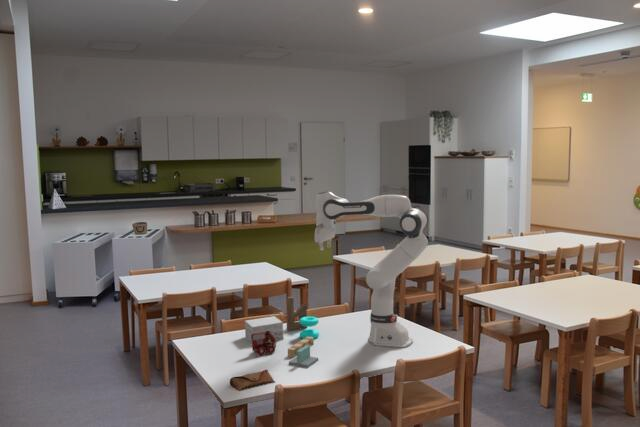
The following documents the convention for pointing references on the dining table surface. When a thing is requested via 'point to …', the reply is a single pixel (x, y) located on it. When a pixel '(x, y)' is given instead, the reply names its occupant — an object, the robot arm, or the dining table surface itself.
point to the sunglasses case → (251, 380)
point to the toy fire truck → (263, 343)
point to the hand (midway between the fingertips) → (325, 248)
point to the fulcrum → (303, 358)
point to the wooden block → (295, 314)
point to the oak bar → (300, 346)
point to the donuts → (309, 322)
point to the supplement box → (264, 327)
